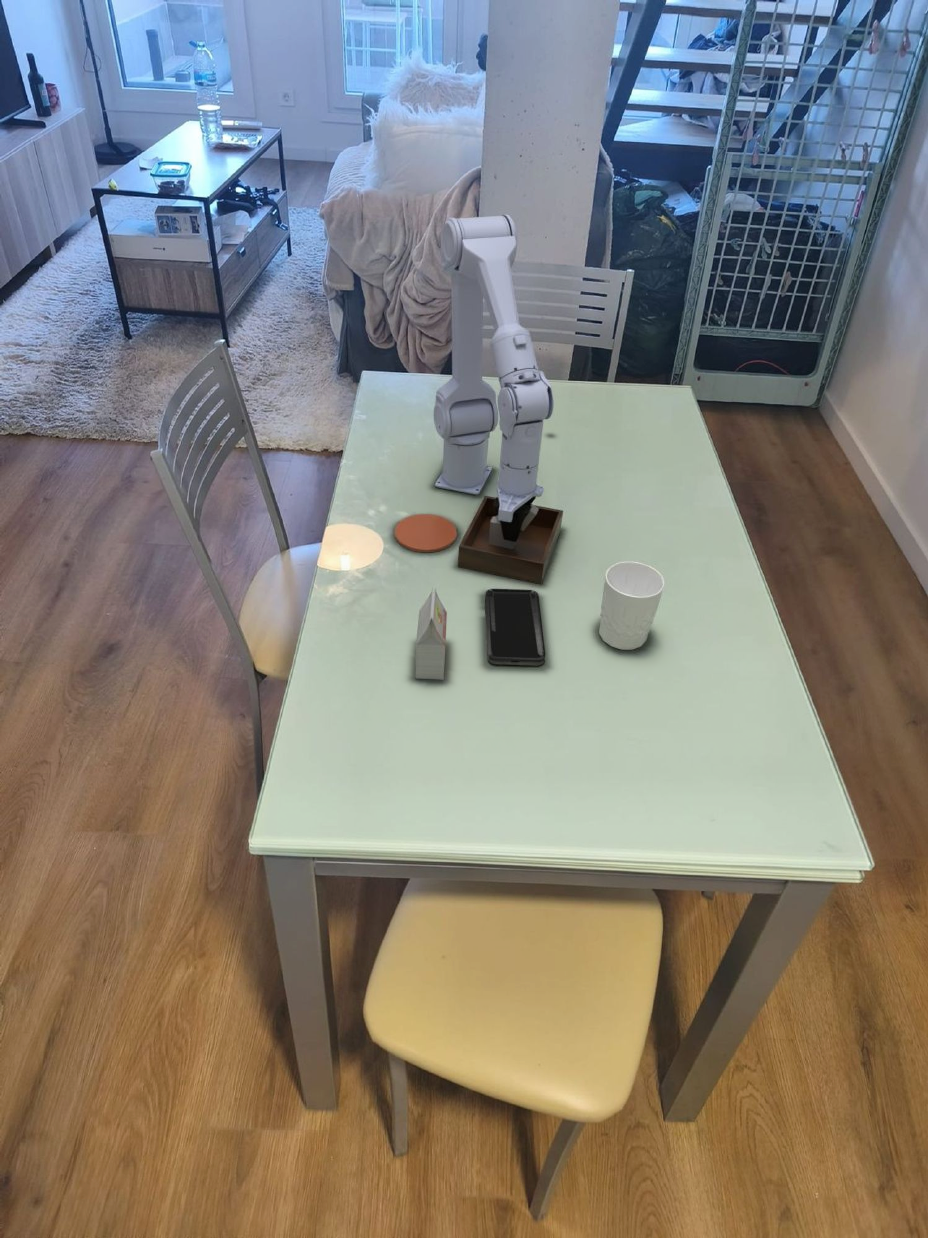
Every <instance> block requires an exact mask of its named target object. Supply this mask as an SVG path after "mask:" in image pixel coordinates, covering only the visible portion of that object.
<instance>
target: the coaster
mask: <svg viewBox="0 0 928 1238" xmlns="http://www.w3.org/2000/svg"><path fill="white" fill-rule="evenodd" d="M457 533H458V531H457V528H456V526H455V525H454V523H453V522H451V521H450V520H449V519H447V518H445V517H442V516H440V515H436V514H431V513H429V514H428V513H419V514H414V515H410V516H407V517H405V518H403V519H401V520H400V521H399V522H398V523H397V524H396V525H395V527H394V538H395V540H396V541H397V543H398V544H399V545H401V546H402V547H403V548H405V549H407V550H409V551H413V552H418V553H436V552H441V551H443V550H445V549H448V548H449V547H451V546H452V545H453V544H454V543H455V541H456V539H457Z"/></svg>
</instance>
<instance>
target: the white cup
mask: <svg viewBox="0 0 928 1238" xmlns="http://www.w3.org/2000/svg"><path fill="white" fill-rule="evenodd" d="M665 586H666V585H665V578H664V576H663V575H662V574H661V572H659V571H658V570H657V569H656V568H654V567H653V566H651V565H648V564H646V563H643V562H638V561H629V560H628V561H620V562H616V563H614V564H612V565H610V566H609V567H608V568H607V570H606V571H605V576H604V583H603V591H602V598H601V603H600V604H601V605H600V615H599V616H600V621H599V630H598V634H599V636H600V638H601V640H602V641H603V642H604V643H606V644H607V645H609V646H610V647H612V648H616V649H619V650H624V651H625V650H628V651H629V650H630V651H631V650H635V649H638V648H641V647H642V646H643V645H644V644H645V643H646V642H647V640H648V636H649V632H650V629H651V627H652V626H653V624H654V623H653V622H654V619H655V616H656V613H657V611H658V607H659V604H660V601H661V598H662V595H663V591H664V588H665Z"/></svg>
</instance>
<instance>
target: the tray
mask: <svg viewBox="0 0 928 1238" xmlns="http://www.w3.org/2000/svg"><path fill="white" fill-rule="evenodd" d="M495 499H496V497H494V496H489V495H484V497H483V498H482V501H481V502H480V504H479V506H478V508H477V510H476V512H475V514H474V516H473V518H472V520H471V522H470V523H469V525H468V528H467V530H466V532H465V534H464V536H463V537H462V539H461V541H460V543H459V546H458V557H457V567H458V568H462V569H468V570H472V571H476V572H481V573H485V574H491V575H495V576H500V577H505V578H510V579H514V580H519V581H524V582H527V583H534V584H539V585H542V583H543V580H544V578H545V575H546V571H547V569H548V566H549V564H550V561H551V558H552V556H553V553H554V550H555V547H556V544H557V541H558V539H559V536H560V533H561V531H562V523H563V515H564V510H563V509H557V508H552V507H546V506H541V505H535V504H533V505H534V506H536V507H537V508H539V510H538V512H537V514H536V515H535V517H534V518H533V519H532V521H531V522H530V523H529V524H528V526H527V527H526V528H525V530H524V531H522V530H521V532H520V534H519V537H518V539H517V541H516V545H515V547H514V549H508V548H504V547H499V546H494V545H489V533H490V521H491V519H492V517H493V516H495V517H496V516H498V515H497V513H496V512H495V510H494V501H495Z"/></svg>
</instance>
